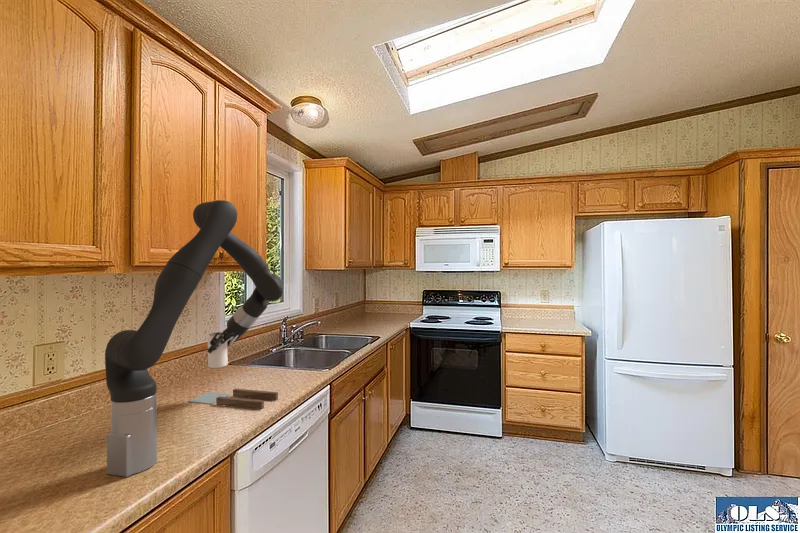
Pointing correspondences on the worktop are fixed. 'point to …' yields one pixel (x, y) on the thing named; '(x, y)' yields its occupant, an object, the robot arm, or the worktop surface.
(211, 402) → the pad
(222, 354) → the can
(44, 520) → the worktop surface
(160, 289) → the robot arm
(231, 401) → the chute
